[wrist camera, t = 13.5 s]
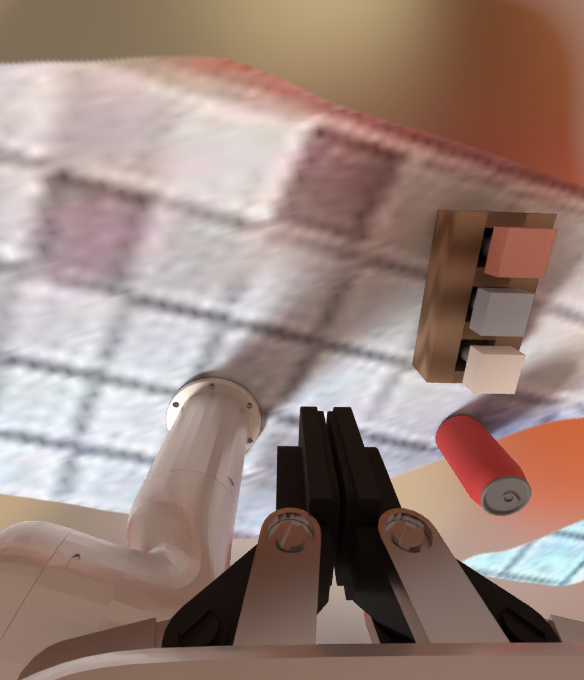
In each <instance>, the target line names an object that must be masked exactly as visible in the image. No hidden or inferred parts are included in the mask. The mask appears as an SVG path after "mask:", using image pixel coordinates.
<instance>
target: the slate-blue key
mask: <svg viewBox="0 0 584 680" xmlns="http://www.w3.org/2000/svg"><path fill="white" fill-rule="evenodd" d="M534 297H535V294H534V293H531V292H528V291H525V290H522V289H517V288H478V289H475V288H472V291H471V295H470V300H469V305H468V307H469V308H471V309H472V310H473V312H472V317H471V321H470V326H469V328H470V329H471V330H473V331H474V332H476V333H477V334H479V335H480V336H516V337H524V333H525V329H526V326H527V322H528V319H529V315H530V311H531V308H532V304H533V300H534Z"/></svg>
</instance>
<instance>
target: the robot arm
mask: <svg viewBox="0 0 584 680" xmlns="http://www.w3.org/2000/svg"><path fill="white" fill-rule="evenodd" d="M211 383H212V384H214V385H212V384H211ZM166 423H167V428H168V431H169V432H168V434H167V436H166V438H165V440H164V442H163V444H162V446H161V448H160V450H159V452H158V454H157V456H156V458H155V460H154V462H153V464H152V466H151V468H150V470H149V472H148V474H147V476H146V478H145V480H144V482H143V484H142V486H141V488H140V490H139V492H138V494H137V496H136V498H135V500H134V503H133V505H132V507H131V510H130V514H129V519H128V526H127V542H128V548H126V547H123V546H120V545H117V544H114V543H111V542H108V541H105V540H102V539H99V538H96V537H93V536H90V535H87V534H84V533H81V532H79V531H76V530H73V529H69V528H66V527H63V526H60V525H56V524H52V523H49V522H43V521H25V522H21V523H17V524H14V525H11V526H9V527H7V528H5V529H4V530H2V531H1V532H0V680H584V622H581V621H577V620H572V619H568V618H563V617H559V616H555V615H550V617H549V619H548V620H547V619H544V618H543V617H542V616H541V615H540V614H539V613H538V612H536V611H535V610H534V609H533V608H531V607H530V606H529V605H527V604H526V603H524V602H522V601H521V600H519V599H518V598H516V597H515V596H513V595H512V594H510V593H508V592H507V591H505V590H504V589H502V588H501V587H499V586H498V585H496V584H494V583H493V582H491V581H490V580H488V579H487V578H485V577H484V576H482V575H480V574H479V573H477V572H476V571H474V570H473V569H471V568H470V567H468V566H467V565H465V564H463V563H462V562H460V561H459V560H457V559H456V558H455V557H454V556H453V554H452V553H451V551H450V550H449V548H448V546H447V545H446V543H445V542H444V540H443V539H442V537H441V536H440V534H439V533H438V531H437V529H436V528H435V527H434V526H433V524H432V523H431V522H430V521H429V520H428V519H427V518H425V517H424V516H423V515H421V514H419V513H417V512H415V511H412V510H409V509H405V508H401V506H400V503H399V501H398V498H397V496H396V493H395V490H394V488H393V485H392V483H391V480H390V478H389V475H388V473H387V470H386V468H385V465H384V463H383V460H382V458H381V455H380V453H379V450H378V449H377V448H376V447H364V444H363V441H362V438H361V435H360V432H359V429H358V427H357V424H356V421H355V418H354V415H353V412H352V409H351V407H334V408H333V411H328V412H327V422H325V417H324V413H323V411H318V410H317V407H300V421H299V443H298V446H277V491H276V511H275V512H273V513H271V514H270V515H269V516H268V517H267V518H266V519H265V520H264V523H263V525H262V527H261V531H260V535H259V539H258V544H257V545H256V546H254V547H253V548H252V549H251V550H250V551H248V552H247V553H246V554H245V555H244V556H243V557H241V558H240V559H239V560H238V561H236V562H235V563H234V564H233V565H232V566H230V560H231V548H232V540H233V532H234V525H235V518H236V511H237V504H238V498H239V491H240V484H241V477H242V471H243V464H244V457H245V452H246V451H247V450H249V449H250V448H251V447H252V445H253V444H254V443H255V441H256V440H257V438H258V435H259V433H260V428H261V413H260V409H259V407H258V404H257V402H256V400H255V399H254V398H253V396H252V395H251V394H250V393H249V392H248V391H247V390H246V389H245V388H243V387H241V386H240V385H238V384H236V383H234V382H232V381H229V380H225V379H221V378H203V379H199V380H195V381H192V382H190V383H188V384H186V385H185V386H183V387H182V388H181V389H180V390H178V392H177V393H176V394H175V395H174V396H173V398H172V400H171V401H170V403H169V406H168V409H167V414H166ZM333 569H335V576H336V582H337V585H338V586H344V590H345V595H346V600H353V601H354V602H355V603H356V604H357V605H358V606H359V607H360V608H362V609H363V610H364V611H365V612H364V617H365V622H366V626H367V629H368V632H369V635H370V638H371V641H372V644H315V641H316V622H317V614H318V613H319V612H320V611H321V610H322V608H323V607H324V606H325V605H326V604H327V602H328V599H329V590H330V586H331V585H332V578H333Z"/></svg>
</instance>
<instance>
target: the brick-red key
mask: <svg viewBox="0 0 584 680" xmlns="http://www.w3.org/2000/svg"><path fill="white" fill-rule="evenodd" d="M556 232H557V229H546V228H526V227H495V226H494V230H493V234H492V236H489V235H483V239H482V243H481V248H480V253H479V255H481V256H485V257H487V261H486V266H485V270H484V273H486V274H489V275H492V276H495V277H507V278H544V275H545V272H546V268H547V264H548V261H549V257H550V254H551V250H552V247H553V243H554V240H555V236H556Z"/></svg>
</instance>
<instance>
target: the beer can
mask: <svg viewBox="0 0 584 680" xmlns="http://www.w3.org/2000/svg"><path fill="white" fill-rule="evenodd" d="M435 438H436V444H437V446H438V448H439V449H440V451H441V452H442V454H443V455H444V457H445V459H446V460H447V462H448V463H449V465H450V466H451V468H452V469H453V471H454V472H455V474H456V476H457V477H458V479H459V480H460V482H461V483H462V485H463V486H464V488H465V489H466V491H467V493H468V494H469V495H470V497H471V498H472V499H473V500H474V501H475V502H476V503H478V504H479V505H480V506H482V507H483V509H484V510H485V511H486V512H488V513H489V514H492V515H495V516H506V515H510V514H513V513H515V512H518V511H519V510H521V509H522V508H523V507H524V506H525V505H526V504H527V503H528V501H529V499H530V496H531V488H530V485H529V484H528V482H527V480H526V477H525V475H524V473H523V471H522V470H521V468H520V466H519V465H518V464H517V463H516V462H515V461H514V460H513V459H512V458H511V457H510V456H509V454H508V453H507V452H506V451H505V450H504V449H503V448H502V447H501V446H500V445H499V444H498V442H497V441H496V440H495V439H494V438H493V437H492V436H491V435H490V434H489V432H488V431H487V430H486V429H485V428H484V427H483V426H482V425H481V424H480V423H479V422H478V421H477V420H476V419H475V418H472V417H470V416H464V415H459V416H455V417H451V418H449V419H447V420H446V421H445V422H443V423H442V424H441V425H440V427H439V428H438V430H437V433H436V437H435Z"/></svg>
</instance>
